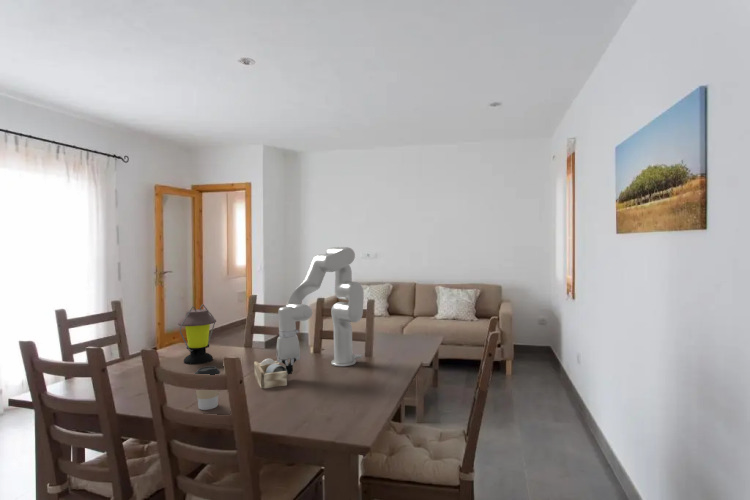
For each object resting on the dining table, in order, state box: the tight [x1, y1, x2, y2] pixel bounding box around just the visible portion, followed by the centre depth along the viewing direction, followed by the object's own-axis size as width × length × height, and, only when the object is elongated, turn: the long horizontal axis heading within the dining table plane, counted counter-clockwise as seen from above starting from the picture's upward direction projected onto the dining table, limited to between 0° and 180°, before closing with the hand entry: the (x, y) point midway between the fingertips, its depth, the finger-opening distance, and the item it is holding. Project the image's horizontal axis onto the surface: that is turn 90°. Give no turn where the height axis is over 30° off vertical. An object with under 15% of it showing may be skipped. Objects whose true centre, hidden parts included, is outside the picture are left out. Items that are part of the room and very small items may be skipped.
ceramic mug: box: [266, 364, 287, 374], centre depth 200 cm, size 11×8×8 cm
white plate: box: [260, 358, 276, 365], centre depth 208 cm, size 8×1×8 cm, turn 114°
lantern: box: [177, 304, 217, 365], centre depth 239 cm, size 25×19×30 cm
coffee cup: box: [194, 365, 221, 411], centre depth 170 cm, size 9×9×15 cm
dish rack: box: [253, 360, 288, 390], centre depth 201 cm, size 11×20×7 cm, turn 23°
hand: (289, 373), depth 203 cm, fingers closed
